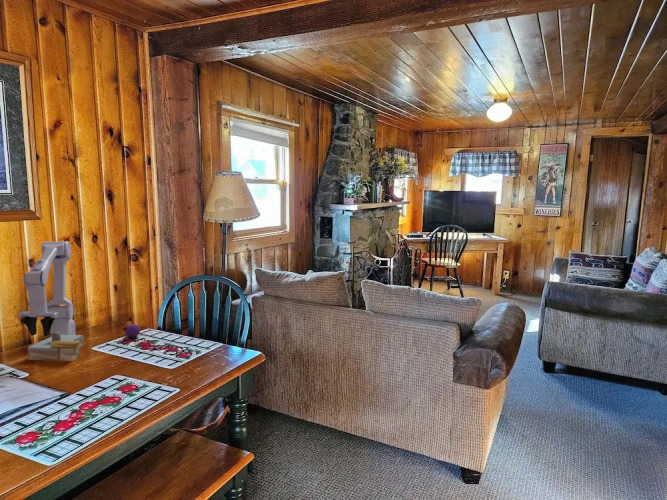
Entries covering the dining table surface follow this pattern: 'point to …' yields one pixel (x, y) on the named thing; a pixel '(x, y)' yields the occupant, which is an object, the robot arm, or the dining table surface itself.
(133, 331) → the kendama
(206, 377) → the dining table surface
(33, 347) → the lid
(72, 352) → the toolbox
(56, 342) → the yellow rectangular block
